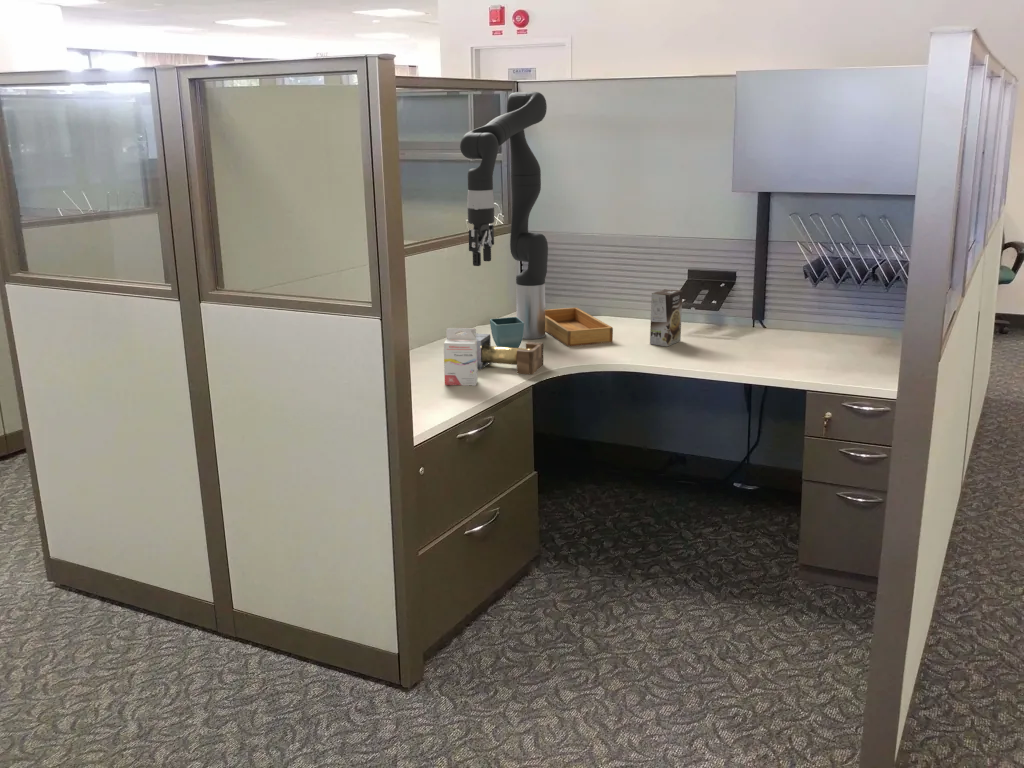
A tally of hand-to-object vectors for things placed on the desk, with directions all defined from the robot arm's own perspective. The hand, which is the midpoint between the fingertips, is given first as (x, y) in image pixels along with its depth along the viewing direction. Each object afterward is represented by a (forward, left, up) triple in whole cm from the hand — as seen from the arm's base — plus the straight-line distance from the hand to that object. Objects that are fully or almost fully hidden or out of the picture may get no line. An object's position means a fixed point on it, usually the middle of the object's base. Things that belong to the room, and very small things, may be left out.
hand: (482, 263), depth 262 cm
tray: (-37, +17, -29) cm, 50 cm away
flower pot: (-12, +3, -28) cm, 31 cm away
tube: (+8, +10, -28) cm, 31 cm away
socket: (+8, +17, -28) cm, 34 cm away
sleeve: (+8, 0, -28) cm, 29 cm away
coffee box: (-33, +48, -28) cm, 65 cm away
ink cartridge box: (+26, +3, -28) cm, 39 cm away
